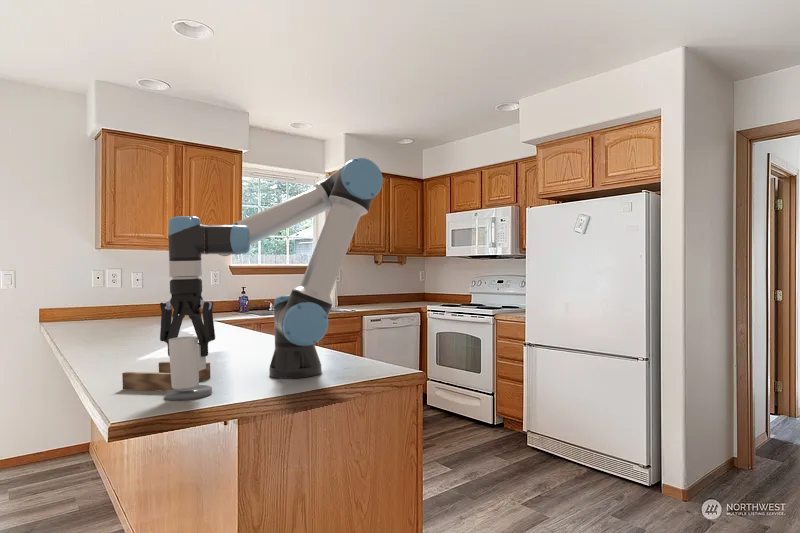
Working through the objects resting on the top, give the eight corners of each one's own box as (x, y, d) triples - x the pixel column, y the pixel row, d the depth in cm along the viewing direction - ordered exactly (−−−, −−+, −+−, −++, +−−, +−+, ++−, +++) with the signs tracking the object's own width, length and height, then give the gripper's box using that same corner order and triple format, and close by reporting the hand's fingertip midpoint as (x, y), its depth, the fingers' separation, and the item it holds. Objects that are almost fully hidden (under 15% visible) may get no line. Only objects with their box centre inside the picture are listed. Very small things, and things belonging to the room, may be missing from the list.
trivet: (220, 390, 133) (220, 385, 133) (195, 401, 122) (194, 396, 122) (183, 388, 135) (183, 384, 135) (154, 399, 124) (154, 395, 124)
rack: (210, 377, 148) (210, 362, 148) (175, 391, 133) (175, 374, 133) (162, 376, 152) (161, 361, 152) (122, 389, 136) (122, 373, 136)
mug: (195, 388, 124) (192, 339, 124) (166, 390, 123) (164, 340, 123) (207, 379, 134) (205, 334, 134) (180, 381, 133) (178, 335, 133)
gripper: (229, 276, 130) (231, 367, 130) (161, 278, 134) (164, 365, 134) (212, 277, 123) (215, 373, 123) (141, 279, 127) (144, 371, 127)
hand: (188, 369), depth 129 cm, fingers closed on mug, 7 cm apart
